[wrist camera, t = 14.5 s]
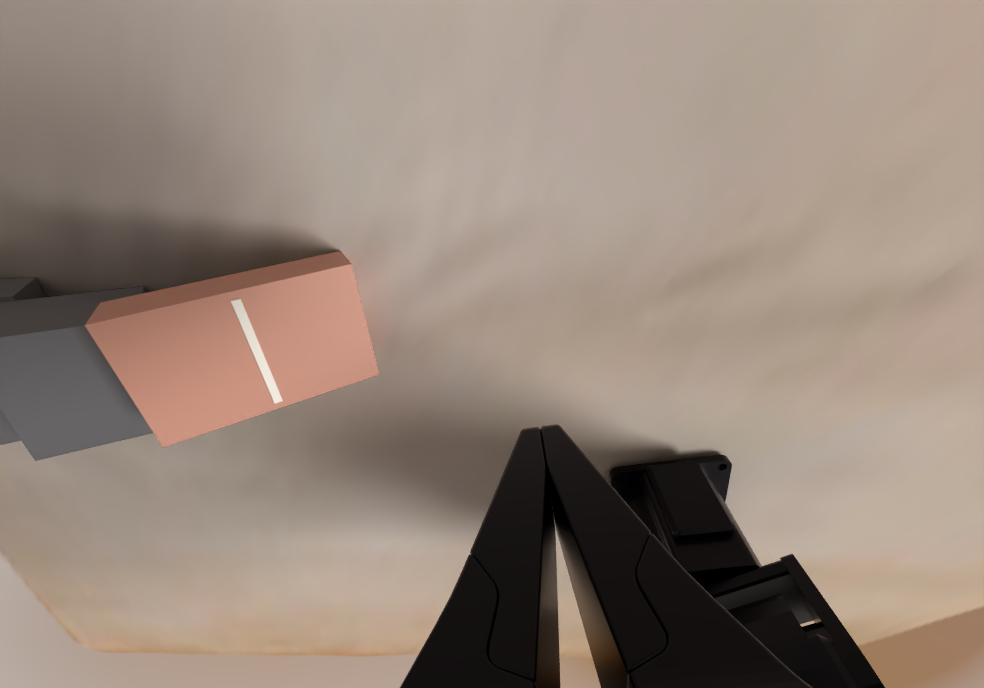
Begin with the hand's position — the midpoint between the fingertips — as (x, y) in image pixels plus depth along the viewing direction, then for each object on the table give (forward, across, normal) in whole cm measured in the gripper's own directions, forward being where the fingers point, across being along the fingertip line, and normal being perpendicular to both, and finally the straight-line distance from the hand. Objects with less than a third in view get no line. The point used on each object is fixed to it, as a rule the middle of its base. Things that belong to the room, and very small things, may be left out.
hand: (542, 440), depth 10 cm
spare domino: (+9, +7, 0) cm, 11 cm away
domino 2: (+9, +11, +1) cm, 14 cm away
